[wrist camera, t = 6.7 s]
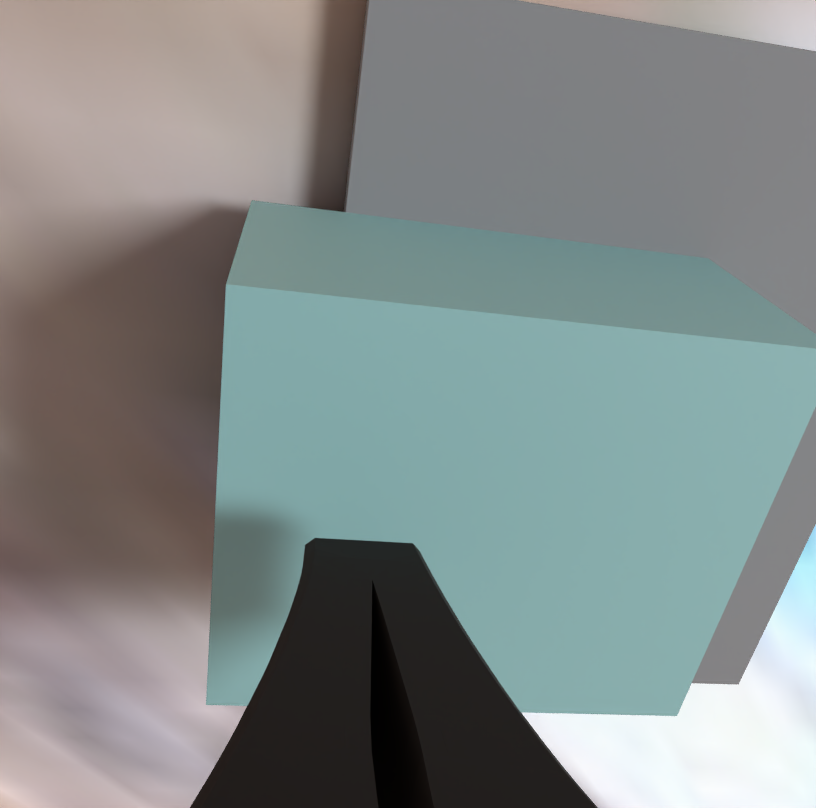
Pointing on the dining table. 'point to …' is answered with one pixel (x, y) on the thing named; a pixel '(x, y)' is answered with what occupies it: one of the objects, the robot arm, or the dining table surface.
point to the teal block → (501, 443)
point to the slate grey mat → (608, 176)
